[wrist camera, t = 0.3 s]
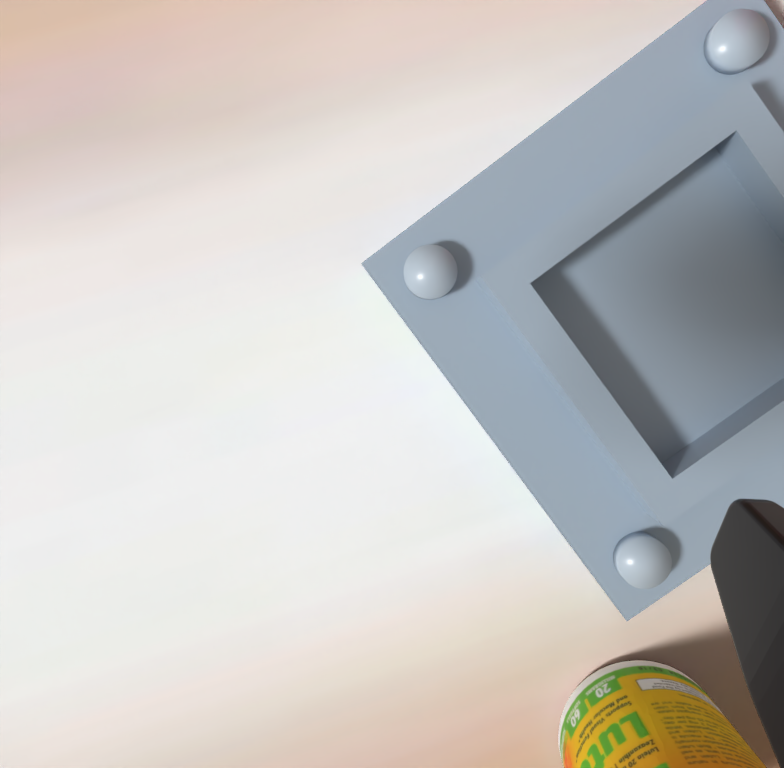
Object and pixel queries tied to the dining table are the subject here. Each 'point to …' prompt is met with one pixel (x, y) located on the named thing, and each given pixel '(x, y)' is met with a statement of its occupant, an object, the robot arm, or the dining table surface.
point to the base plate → (625, 300)
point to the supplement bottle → (647, 722)
